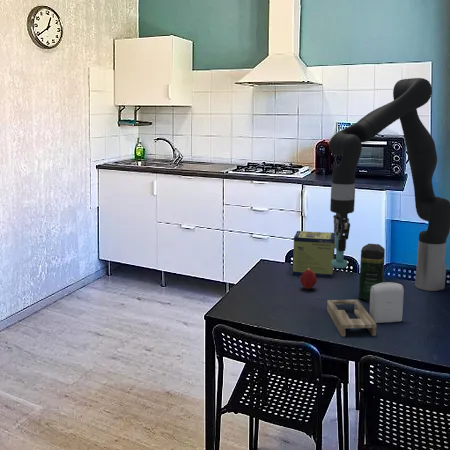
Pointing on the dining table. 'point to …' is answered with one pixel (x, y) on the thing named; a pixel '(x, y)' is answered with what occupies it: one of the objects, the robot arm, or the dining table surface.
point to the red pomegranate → (308, 279)
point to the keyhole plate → (345, 322)
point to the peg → (339, 257)
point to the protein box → (313, 253)
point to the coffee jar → (371, 269)
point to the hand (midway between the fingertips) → (340, 248)
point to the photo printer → (386, 302)
